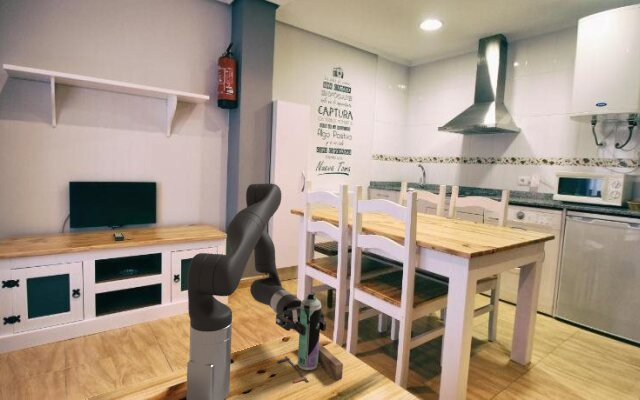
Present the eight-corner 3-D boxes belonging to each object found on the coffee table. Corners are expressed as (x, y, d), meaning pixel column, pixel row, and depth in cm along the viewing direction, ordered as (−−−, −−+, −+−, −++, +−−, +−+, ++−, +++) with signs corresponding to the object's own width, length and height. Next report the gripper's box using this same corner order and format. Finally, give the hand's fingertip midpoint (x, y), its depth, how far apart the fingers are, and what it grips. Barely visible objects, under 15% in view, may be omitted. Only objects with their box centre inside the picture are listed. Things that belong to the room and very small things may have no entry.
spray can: (317, 370, 93) (321, 297, 91) (296, 369, 93) (300, 296, 91) (317, 359, 98) (322, 290, 96) (298, 358, 98) (302, 289, 96)
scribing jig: (342, 378, 91) (342, 363, 91) (301, 391, 85) (302, 375, 84) (308, 346, 106) (309, 333, 106) (271, 355, 100) (272, 342, 100)
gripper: (265, 297, 102) (291, 321, 88) (308, 290, 110) (338, 311, 95) (264, 322, 103) (289, 349, 89) (306, 313, 110) (336, 337, 96)
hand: (314, 329), depth 92 cm, fingers closed on spray can, 5 cm apart
